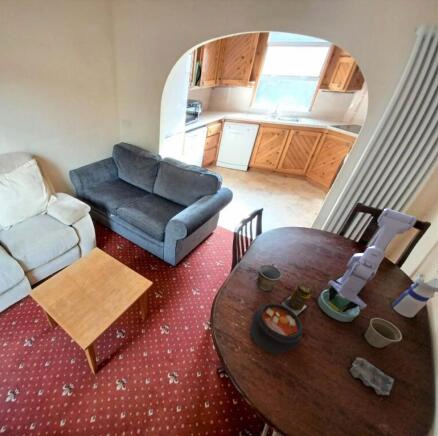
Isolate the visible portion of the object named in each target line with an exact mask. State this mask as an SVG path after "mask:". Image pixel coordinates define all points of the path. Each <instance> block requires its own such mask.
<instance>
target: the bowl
mask: <svg viewBox="0 0 438 436" xmlns="http://www.w3.org/2000/svg"><path fill="white" fill-rule="evenodd" d="M329 296H330V294H329V288H328V289H325V290H323V291H322V292H321V294H320V295H319V296H318V298H317V303H318V305H319V306H318V307H320V309H321V310H322V311H323V312H324V313H325V314H326V315H327V316H328V317H331V318H332V319H334V320H337V321H339V322H343V323H344V322H345V323H350V322H352V321H354V320H355V319H356V318H357V317H358V316H359V315H360V311H361V309H360V308H359V306H357V307H356V308H353V309H349V310H347V311H346V312H343V311H341V312H339V313H338V312H336V311H335V310H333V309H332V308H330V307H329V306H328V303H329V302H330V301H329ZM337 296H339V293H337V295H336V296H335V298H336V297H337ZM345 299H346V298H345ZM347 300H348V299H347ZM348 301H349V302H351V301H350V300H348Z"/></svg>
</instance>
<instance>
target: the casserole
mask: <svg viewBox="0 0 438 436" xmlns="http://www.w3.org/2000/svg"><path fill="white" fill-rule="evenodd" d="M303 329H304V328H303V326H302V322H301V320H300V318H299V316H298V315H296V314H295V313H294V312H293V311H291V310H290V309H289V308H287V307H285V306H284V305H282V304H280V303H275V302H271V303H266V304H264V305H261V306H260V307H259V309H257V311H255V312H254V314H253V315H252V320H251V327H250V331H249V334H250V337H251V339H252V340H253V342H254V343H255V344H256V345H257V346H258V347H259V348H261V349H262V350H263V351H265V352H266V353H268V354H271V355H274V356H277V355H280V354H282V353H284V352H288V351H293V350H296V349H297V348H298V347H299V346H300V344H301V341H302V336H303V333H304V330H303Z"/></svg>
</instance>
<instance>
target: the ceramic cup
mask: <svg viewBox="0 0 438 436" xmlns="http://www.w3.org/2000/svg"><path fill="white" fill-rule="evenodd" d="M282 274H283V273H282V272H281V270H280V269H279V268H278V267H276V266H275V263H272V264H266V263H264V264H261V265H260V266H259V267H258V273H257V283H256V285H257V286H258V287H259V289H261V290H263V291H271V290H272V289H273V288H274V286H275V285H276V284H277V283H278V282H279V281H280V280H281V278H282V276H283V275H282Z"/></svg>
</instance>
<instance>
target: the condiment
mask: <svg viewBox="0 0 438 436" xmlns="http://www.w3.org/2000/svg"><path fill="white" fill-rule="evenodd" d="M311 294H312V288H311V286H309V285H307V284H305V283H299V284H298V285H297V286H296V287H295V288H294V290H293V292H292V293H291V295H290V296H289V297H288V298H286V299H285V300H284V301H282V303H281V305H283V306H285V307H287V308H289V309H290V310H291V311H293V312H294V313H295V314H296V315H297V316H298V315H299V314H301V312H303V311H304V310H305V309H306V308H307V307H308V306H307V305H306V303H307V302H308V300H309V299H310V297H311Z"/></svg>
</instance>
